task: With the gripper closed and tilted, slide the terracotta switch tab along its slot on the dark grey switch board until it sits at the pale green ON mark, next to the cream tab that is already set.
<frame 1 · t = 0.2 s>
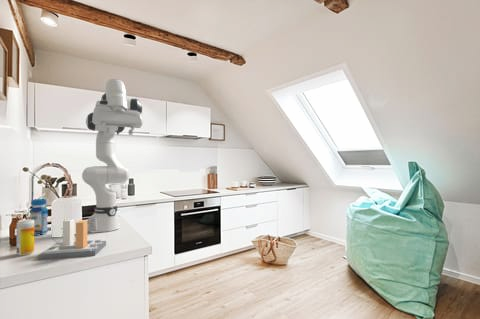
hand: (119, 133, 111), 54 cm above the worktop, tool tilted 30°, fingers open, 8 cm apart
switch board: (74, 251, 116), on the worktop
switch tab: (81, 234, 114), point 8 cm above the worktop, slide at 0.0 cm
yellow cylinder: (25, 254, 114), on the worktop
blue bottle: (38, 234, 146), on the worktop
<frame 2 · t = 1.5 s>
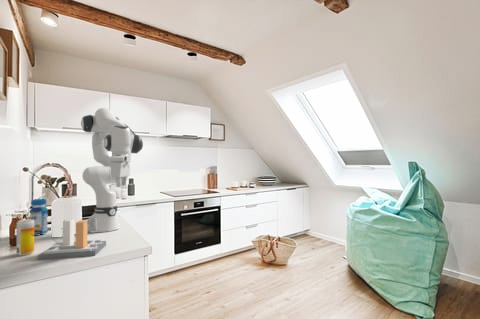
hand: (121, 186, 125), 29 cm above the worktop, tool pointing down, fingers open, 8 cm apart
nothing on the worktop moved.
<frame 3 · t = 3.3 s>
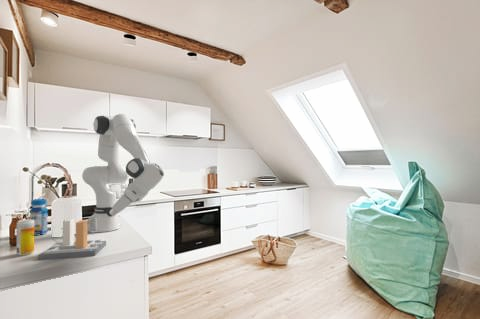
hand: (112, 214, 117), 17 cm above the worktop, tool tilted 45°, fingers closed
nothing on the worktop moved.
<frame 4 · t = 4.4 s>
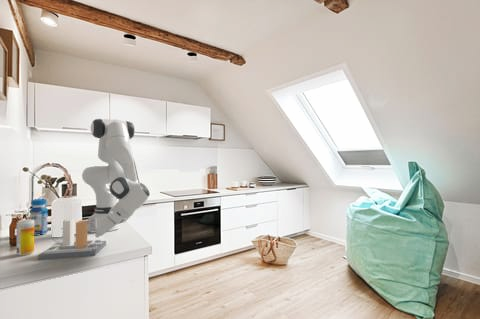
hand: (97, 235, 115), 7 cm above the worktop, tool tilted 45°, fingers closed
nothing on the worktop moved.
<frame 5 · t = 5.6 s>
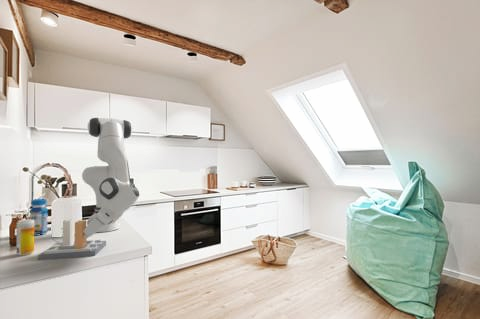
hand: (85, 236, 114), 7 cm above the worktop, tool tilted 45°, fingers closed, pressing on switch tab
switch tab: (80, 234, 114), point 8 cm above the worktop, slide at 0.5 cm, touching gripper
everything else where it was.
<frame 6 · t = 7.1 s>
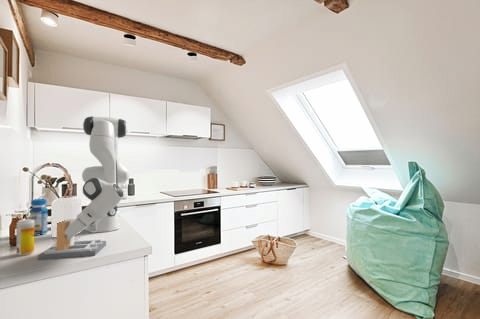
hand: (68, 237, 113), 7 cm above the worktop, tool tilted 45°, fingers closed, pressing on switch tab
switch tab: (63, 235, 113), point 8 cm above the worktop, slide at 7.5 cm, touching gripper
everything else where it was.
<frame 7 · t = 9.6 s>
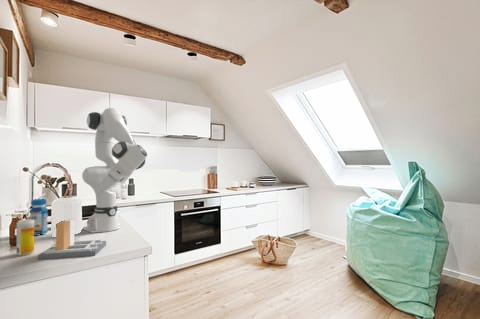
hand: (98, 194, 122), 25 cm above the worktop, tool tilted 45°, fingers closed
switch tab: (62, 235, 113), point 8 cm above the worktop, slide at 7.7 cm
everything else where it was.
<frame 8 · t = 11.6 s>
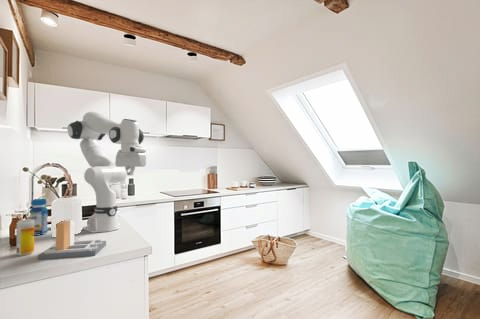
hand: (130, 175, 135), 34 cm above the worktop, tool pointing down, fingers closed
nothing on the worktop moved.
at the end: switch tab slide at 7.7 cm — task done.
